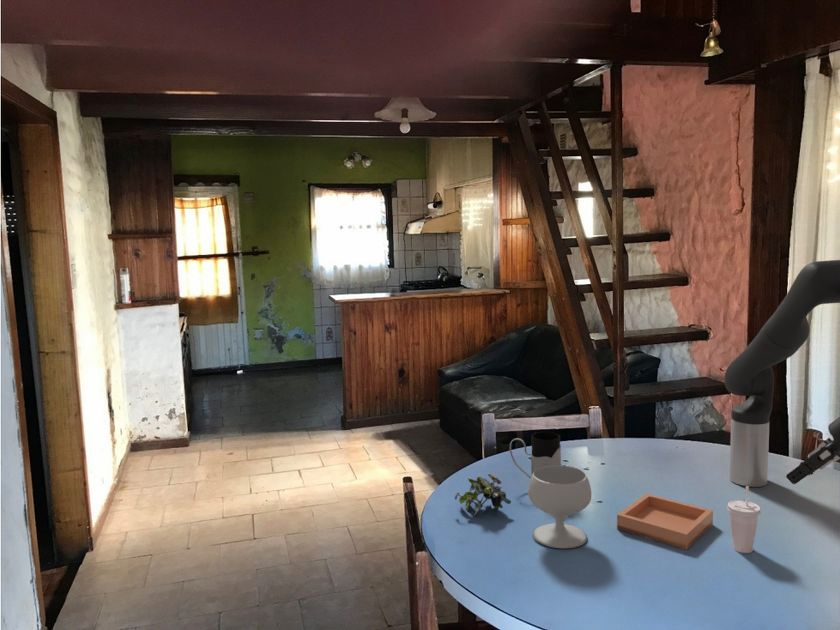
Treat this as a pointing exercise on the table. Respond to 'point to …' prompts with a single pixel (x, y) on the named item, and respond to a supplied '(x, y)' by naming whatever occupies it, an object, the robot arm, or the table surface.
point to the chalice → (559, 503)
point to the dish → (665, 520)
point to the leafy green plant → (487, 490)
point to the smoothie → (743, 523)
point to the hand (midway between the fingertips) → (796, 474)
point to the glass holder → (542, 450)
